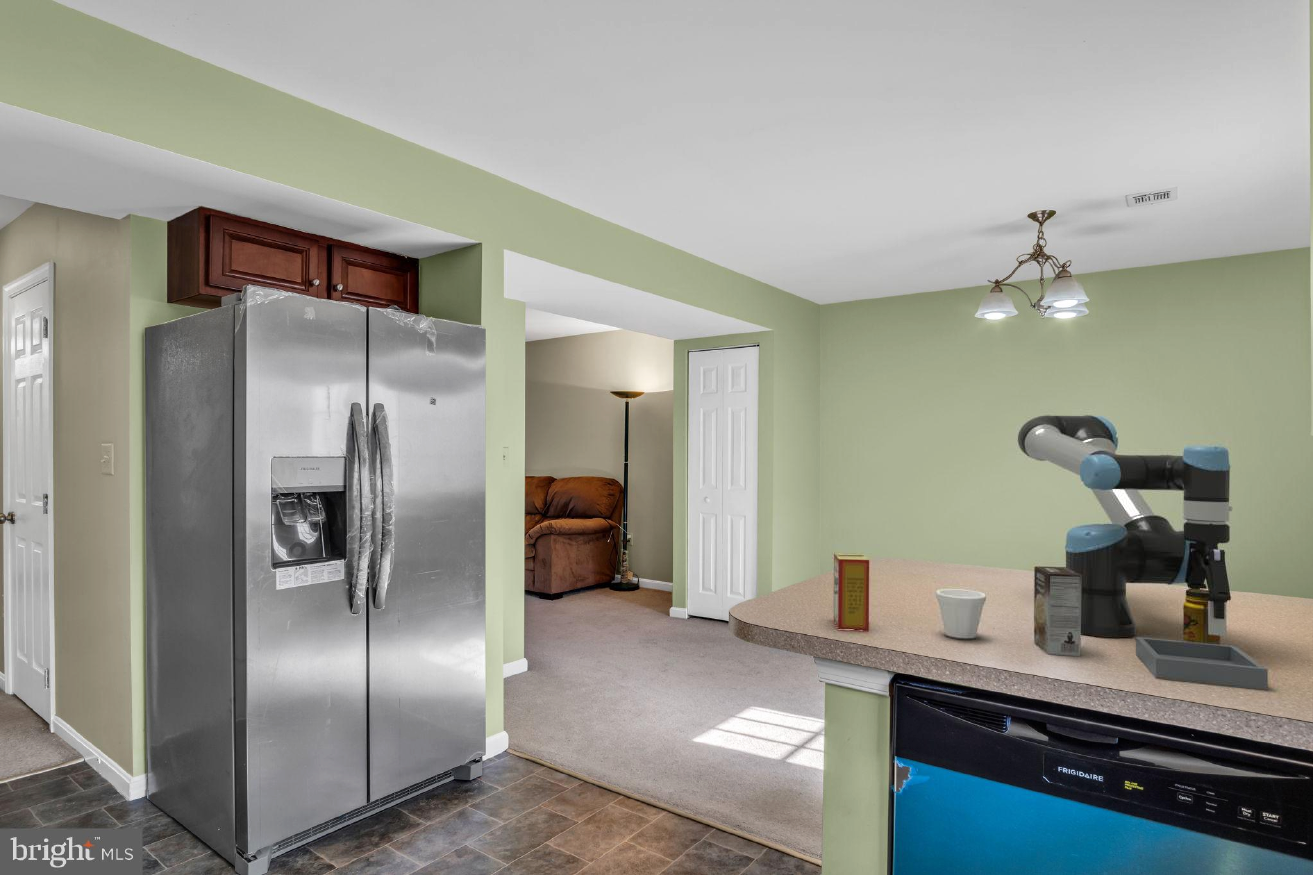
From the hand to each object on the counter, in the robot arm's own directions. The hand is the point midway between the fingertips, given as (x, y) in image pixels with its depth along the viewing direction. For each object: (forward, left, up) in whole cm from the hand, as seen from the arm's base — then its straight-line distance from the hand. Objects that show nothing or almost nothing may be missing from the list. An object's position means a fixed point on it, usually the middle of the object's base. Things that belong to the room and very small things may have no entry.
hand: (1206, 627), depth 150 cm
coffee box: (-28, -12, -5) cm, 31 cm away
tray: (-6, -18, -5) cm, 19 cm away
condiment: (0, 0, -5) cm, 5 cm away
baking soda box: (-69, -9, -5) cm, 70 cm away
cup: (-46, -9, -5) cm, 47 cm away
